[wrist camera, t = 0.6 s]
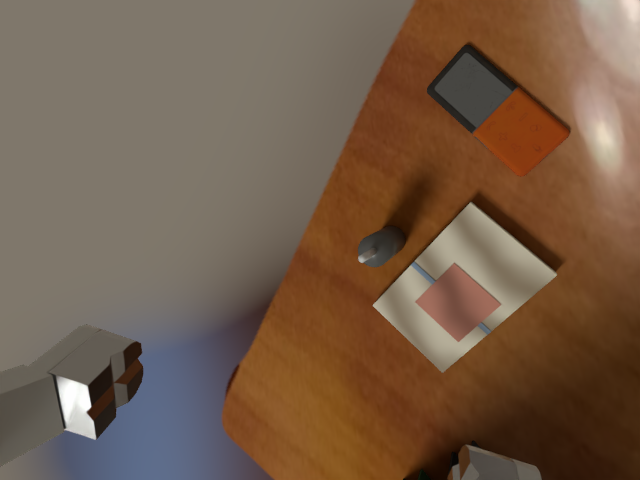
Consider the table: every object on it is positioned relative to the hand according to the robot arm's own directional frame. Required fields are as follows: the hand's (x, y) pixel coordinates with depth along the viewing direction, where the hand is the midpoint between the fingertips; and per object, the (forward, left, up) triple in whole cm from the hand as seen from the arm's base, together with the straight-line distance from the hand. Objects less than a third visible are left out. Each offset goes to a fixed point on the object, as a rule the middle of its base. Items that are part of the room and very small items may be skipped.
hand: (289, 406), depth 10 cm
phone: (-11, -5, -43) cm, 45 cm away
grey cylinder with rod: (+8, -4, -43) cm, 43 cm away
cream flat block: (+7, +6, -43) cm, 43 cm away
